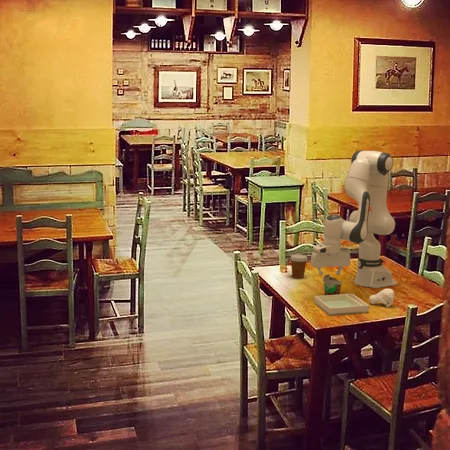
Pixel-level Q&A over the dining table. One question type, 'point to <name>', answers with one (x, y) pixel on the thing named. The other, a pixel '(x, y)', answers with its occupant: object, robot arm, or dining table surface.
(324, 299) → the walled box
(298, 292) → the dining table surface
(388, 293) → the white animal figurine
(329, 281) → the food container
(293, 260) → the disposable coffee cup
